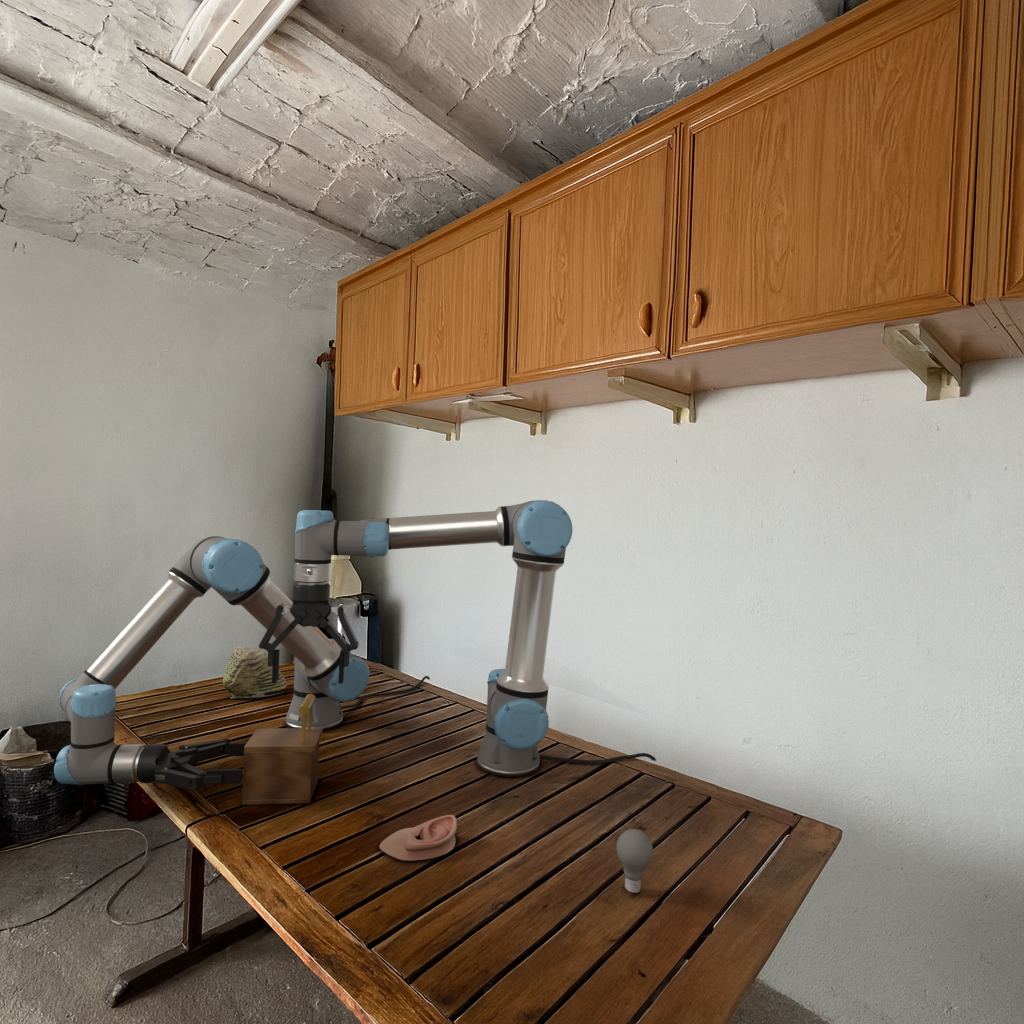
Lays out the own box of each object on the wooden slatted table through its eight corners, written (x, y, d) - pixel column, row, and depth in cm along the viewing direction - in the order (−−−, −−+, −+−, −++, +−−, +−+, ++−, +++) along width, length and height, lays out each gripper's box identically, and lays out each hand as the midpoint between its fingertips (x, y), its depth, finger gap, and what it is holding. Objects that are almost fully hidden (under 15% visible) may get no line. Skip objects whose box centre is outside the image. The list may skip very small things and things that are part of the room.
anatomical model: (372, 833, 112) (397, 803, 124) (372, 855, 112) (396, 824, 124) (444, 845, 110) (462, 813, 121) (443, 867, 110) (462, 834, 121)
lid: (322, 732, 141) (324, 691, 141) (314, 751, 131) (316, 707, 131) (256, 733, 139) (258, 691, 139) (243, 752, 129) (245, 707, 129)
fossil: (218, 695, 195) (220, 647, 195) (278, 685, 208) (279, 640, 207) (228, 703, 189) (230, 653, 188) (289, 692, 201) (290, 645, 201)
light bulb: (610, 879, 108) (613, 822, 108) (644, 879, 109) (647, 822, 109) (619, 902, 102) (622, 840, 102) (655, 901, 103) (658, 840, 103)
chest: (317, 780, 141) (319, 732, 141) (309, 803, 131) (311, 751, 131) (255, 782, 139) (256, 733, 139) (241, 804, 129) (243, 752, 129)
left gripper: (166, 756, 143) (264, 755, 146) (113, 811, 118) (232, 808, 121) (167, 724, 143) (265, 723, 146) (114, 771, 118) (233, 769, 121)
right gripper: (245, 583, 129) (242, 686, 130) (370, 586, 133) (366, 686, 133) (255, 578, 137) (251, 676, 137) (373, 581, 140) (369, 676, 141)
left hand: (250, 762), depth 134 cm, fingers open, 13 cm apart
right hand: (308, 681), depth 135 cm, fingers open, 13 cm apart
